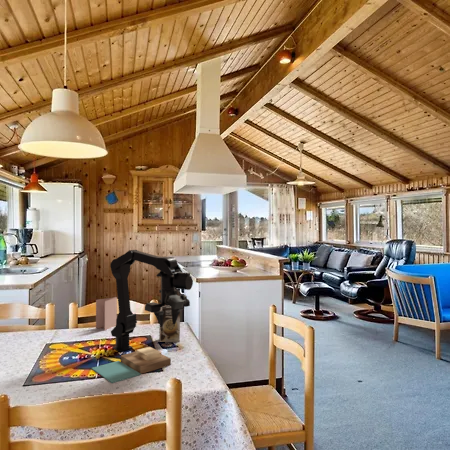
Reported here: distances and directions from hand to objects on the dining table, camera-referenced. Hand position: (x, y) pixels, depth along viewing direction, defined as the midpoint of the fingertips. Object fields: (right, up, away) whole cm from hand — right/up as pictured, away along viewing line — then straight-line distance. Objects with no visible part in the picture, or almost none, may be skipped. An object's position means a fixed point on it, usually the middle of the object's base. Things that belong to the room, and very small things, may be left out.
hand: (167, 325), depth 154 cm
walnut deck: (-8, -13, -7) cm, 17 cm away
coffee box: (-3, -13, +22) cm, 26 cm away
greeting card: (-38, -13, +43) cm, 59 cm away
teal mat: (-17, -13, -15) cm, 26 cm away
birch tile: (-7, -11, -6) cm, 14 cm away
